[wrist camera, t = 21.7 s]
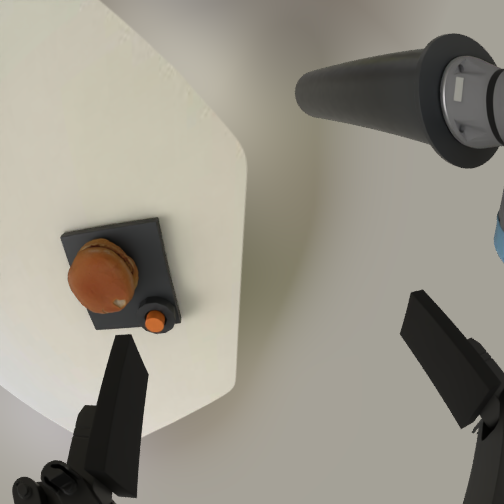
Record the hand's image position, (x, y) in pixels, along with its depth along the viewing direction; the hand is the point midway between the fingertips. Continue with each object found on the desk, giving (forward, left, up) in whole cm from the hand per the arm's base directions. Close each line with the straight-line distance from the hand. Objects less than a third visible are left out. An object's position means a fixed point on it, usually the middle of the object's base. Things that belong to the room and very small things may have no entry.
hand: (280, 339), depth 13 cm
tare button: (+13, +16, -24) cm, 32 cm away
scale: (+17, +11, -27) cm, 34 cm away
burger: (+18, +9, -26) cm, 33 cm away
